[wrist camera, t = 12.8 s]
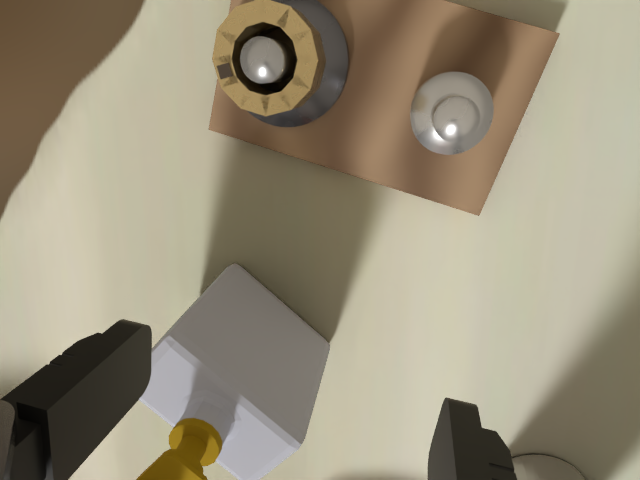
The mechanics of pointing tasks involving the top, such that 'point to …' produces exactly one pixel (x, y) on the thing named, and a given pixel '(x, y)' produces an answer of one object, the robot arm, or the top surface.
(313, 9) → the graphite hub
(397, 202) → the top surface
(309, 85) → the brass ring
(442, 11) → the walnut board
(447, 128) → the stepped silver cylinder
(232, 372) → the soap bottle
